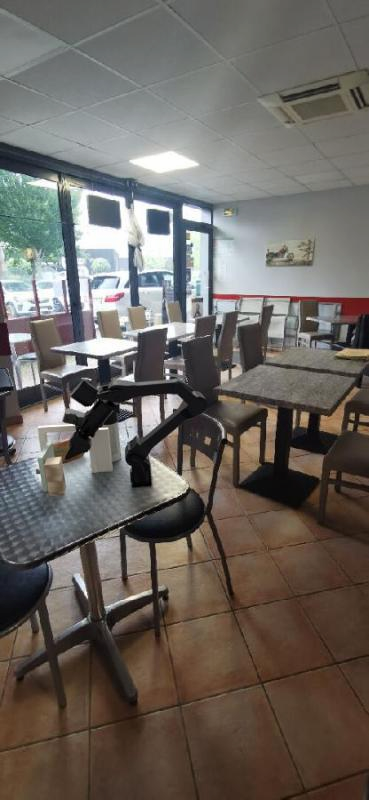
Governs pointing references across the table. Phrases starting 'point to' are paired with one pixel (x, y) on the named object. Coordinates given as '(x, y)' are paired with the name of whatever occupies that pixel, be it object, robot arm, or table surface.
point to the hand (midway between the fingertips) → (68, 452)
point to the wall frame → (98, 450)
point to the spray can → (113, 436)
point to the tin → (64, 450)
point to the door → (42, 458)
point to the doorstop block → (55, 476)
